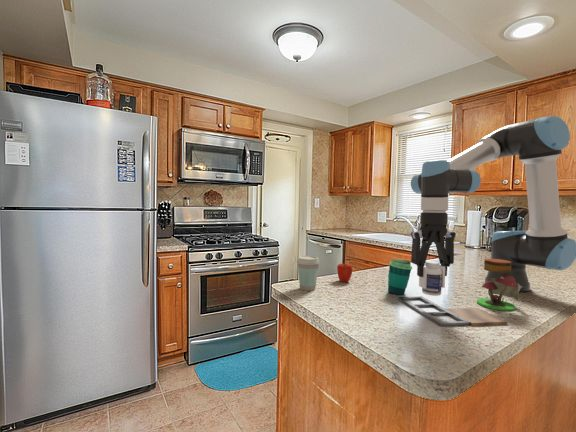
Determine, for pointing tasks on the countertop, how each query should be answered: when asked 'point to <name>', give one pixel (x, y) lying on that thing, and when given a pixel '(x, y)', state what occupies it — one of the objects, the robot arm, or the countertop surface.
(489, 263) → the mushroom toy
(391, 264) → the cup
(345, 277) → the red bell pepper
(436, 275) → the pill bottle
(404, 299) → the gray rectangular frame
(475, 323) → the coaster
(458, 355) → the countertop surface
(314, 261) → the coffee cup
